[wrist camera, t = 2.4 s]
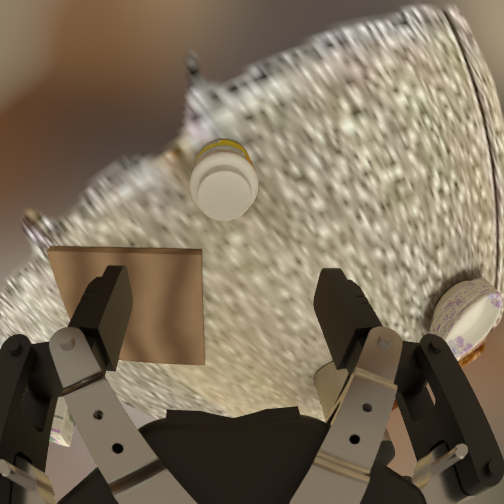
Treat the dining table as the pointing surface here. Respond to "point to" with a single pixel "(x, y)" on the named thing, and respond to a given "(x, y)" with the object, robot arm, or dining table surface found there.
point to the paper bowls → (466, 314)
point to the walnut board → (144, 297)
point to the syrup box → (62, 424)
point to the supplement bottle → (223, 180)
